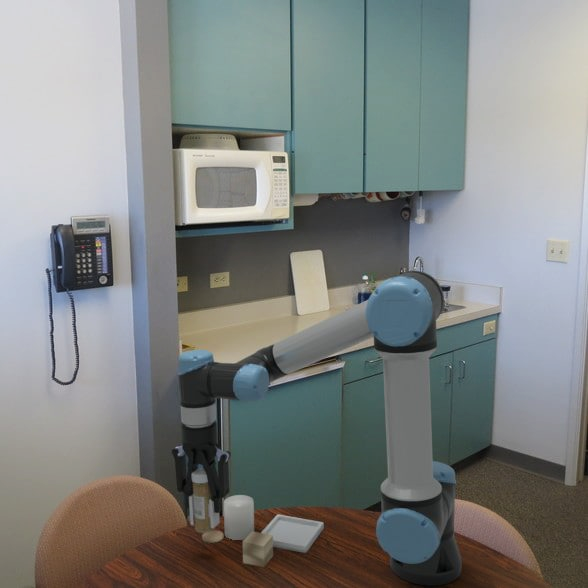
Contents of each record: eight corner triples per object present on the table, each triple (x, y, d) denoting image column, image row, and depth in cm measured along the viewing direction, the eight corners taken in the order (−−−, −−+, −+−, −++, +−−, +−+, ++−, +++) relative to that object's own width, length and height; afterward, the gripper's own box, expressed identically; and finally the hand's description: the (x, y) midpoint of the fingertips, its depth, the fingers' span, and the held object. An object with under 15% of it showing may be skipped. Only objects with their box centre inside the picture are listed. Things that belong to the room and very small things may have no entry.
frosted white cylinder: (246, 542, 160) (245, 510, 158) (219, 537, 162) (218, 505, 161) (261, 526, 167) (260, 495, 166) (235, 521, 170) (234, 491, 169)
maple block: (273, 556, 154) (272, 535, 153) (263, 567, 149) (263, 546, 149) (252, 552, 156) (252, 531, 155) (243, 563, 151) (242, 541, 151)
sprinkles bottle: (219, 529, 152) (215, 471, 150) (200, 535, 150) (196, 477, 148) (209, 522, 156) (206, 465, 154) (191, 527, 154) (187, 470, 152)
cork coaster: (225, 533, 165) (225, 530, 165) (221, 544, 160) (221, 540, 160) (204, 533, 165) (204, 530, 165) (200, 543, 160) (199, 540, 160)
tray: (323, 528, 166) (323, 522, 166) (305, 553, 155) (305, 546, 155) (277, 520, 170) (277, 514, 170) (257, 543, 159) (257, 537, 159)
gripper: (242, 420, 150) (247, 521, 153) (173, 413, 156) (179, 510, 160) (227, 431, 143) (232, 537, 146) (155, 424, 149) (162, 525, 153)
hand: (205, 523), depth 153 cm, fingers closed on sprinkles bottle, 4 cm apart
